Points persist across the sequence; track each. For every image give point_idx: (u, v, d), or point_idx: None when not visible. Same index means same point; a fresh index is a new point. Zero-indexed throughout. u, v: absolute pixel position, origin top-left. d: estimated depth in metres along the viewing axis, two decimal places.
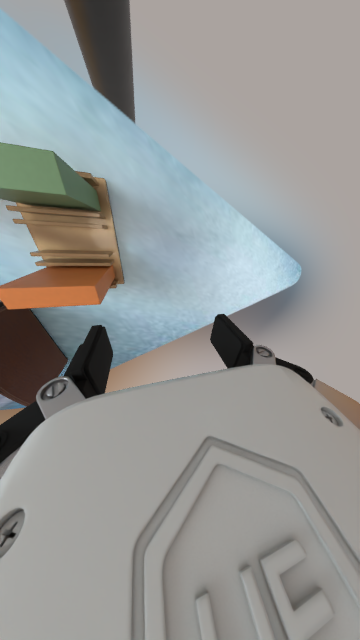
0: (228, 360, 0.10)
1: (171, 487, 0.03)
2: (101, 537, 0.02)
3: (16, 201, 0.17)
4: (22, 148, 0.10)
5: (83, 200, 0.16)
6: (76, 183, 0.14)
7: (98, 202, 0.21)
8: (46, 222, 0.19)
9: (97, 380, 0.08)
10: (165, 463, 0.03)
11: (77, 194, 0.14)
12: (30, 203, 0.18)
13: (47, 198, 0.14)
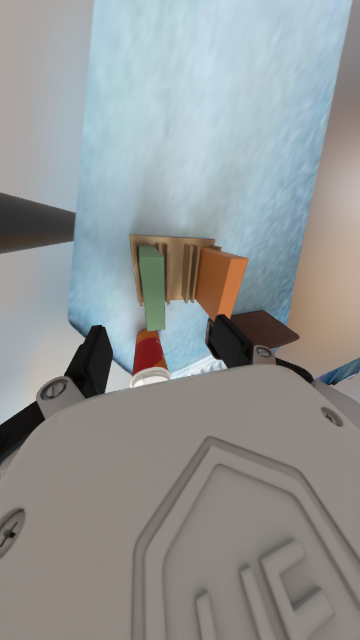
0: (228, 360, 0.10)
1: (171, 487, 0.03)
2: (101, 537, 0.02)
3: None
4: (142, 276, 0.15)
5: (157, 251, 0.18)
6: (148, 252, 0.17)
7: (147, 245, 0.24)
8: (168, 287, 0.26)
9: (97, 380, 0.08)
10: (165, 463, 0.03)
11: (156, 252, 0.17)
12: None
13: None
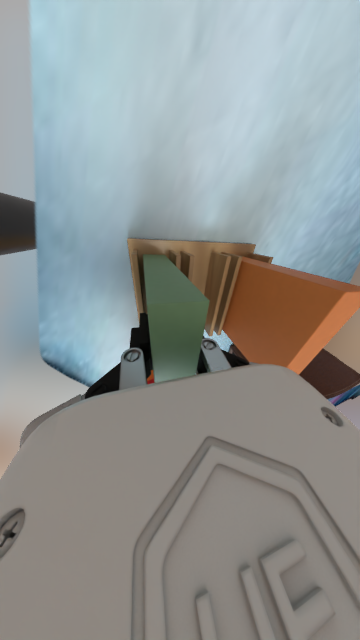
0: None
1: (171, 487, 0.03)
2: (101, 537, 0.02)
3: None
4: (153, 343, 0.06)
5: (178, 272, 0.09)
6: (163, 276, 0.08)
7: (156, 255, 0.15)
8: None
9: None
10: (165, 463, 0.03)
11: (180, 279, 0.08)
12: None
13: None
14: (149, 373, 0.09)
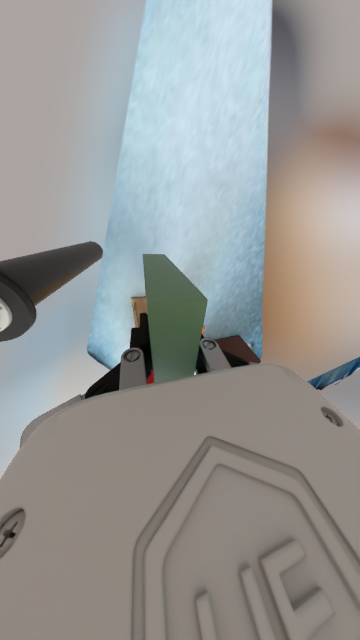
0: None
1: (171, 487, 0.03)
2: (101, 537, 0.02)
3: None
4: (153, 341, 0.06)
5: (178, 272, 0.09)
6: (163, 276, 0.08)
7: (155, 254, 0.16)
8: None
9: None
10: (165, 463, 0.03)
11: (179, 278, 0.08)
12: None
13: None
14: (149, 373, 0.09)
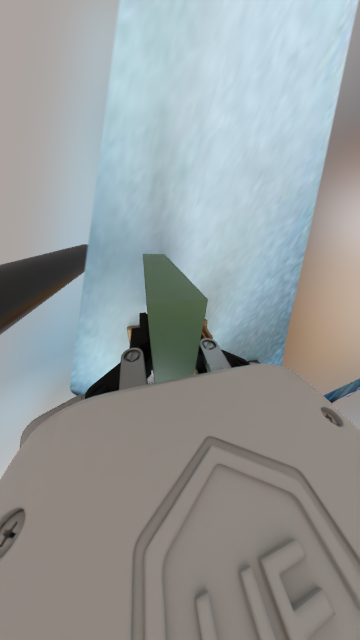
0: None
1: (171, 487, 0.03)
2: (101, 537, 0.02)
3: None
4: (153, 341, 0.06)
5: (178, 271, 0.09)
6: (163, 276, 0.08)
7: (155, 254, 0.16)
8: None
9: None
10: (165, 463, 0.03)
11: (179, 278, 0.08)
12: None
13: None
14: (149, 373, 0.09)
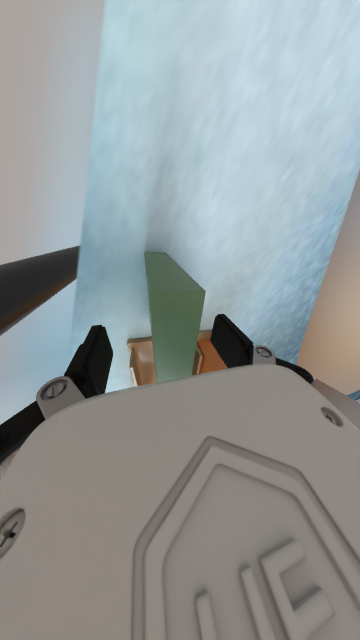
0: (228, 360, 0.10)
1: (171, 487, 0.03)
2: (101, 537, 0.02)
3: None
4: (155, 330, 0.07)
5: (178, 268, 0.10)
6: (164, 271, 0.09)
7: (157, 253, 0.16)
8: None
9: (97, 380, 0.08)
10: (165, 463, 0.03)
11: (179, 273, 0.09)
12: None
13: None
14: None
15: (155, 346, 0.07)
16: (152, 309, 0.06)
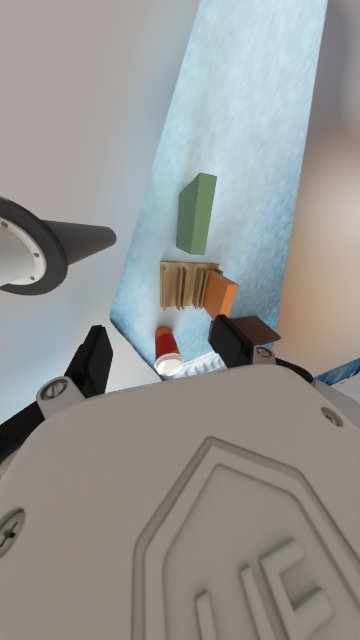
0: (228, 360, 0.10)
1: (171, 487, 0.03)
2: (101, 537, 0.02)
3: None
4: (198, 192, 0.19)
5: None
6: None
7: None
8: (184, 297, 0.37)
9: (97, 380, 0.08)
10: (165, 463, 0.03)
11: None
12: None
13: None
14: None
15: (196, 203, 0.20)
16: (199, 180, 0.18)
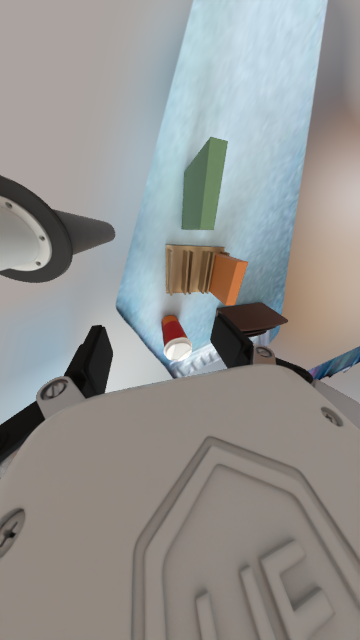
0: (228, 360, 0.10)
1: (171, 487, 0.03)
2: (101, 537, 0.02)
3: None
4: (208, 159, 0.19)
5: None
6: None
7: None
8: (190, 281, 0.36)
9: (97, 380, 0.08)
10: (165, 463, 0.03)
11: None
12: None
13: None
14: None
15: (207, 171, 0.19)
16: (209, 146, 0.18)
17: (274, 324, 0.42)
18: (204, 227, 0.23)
